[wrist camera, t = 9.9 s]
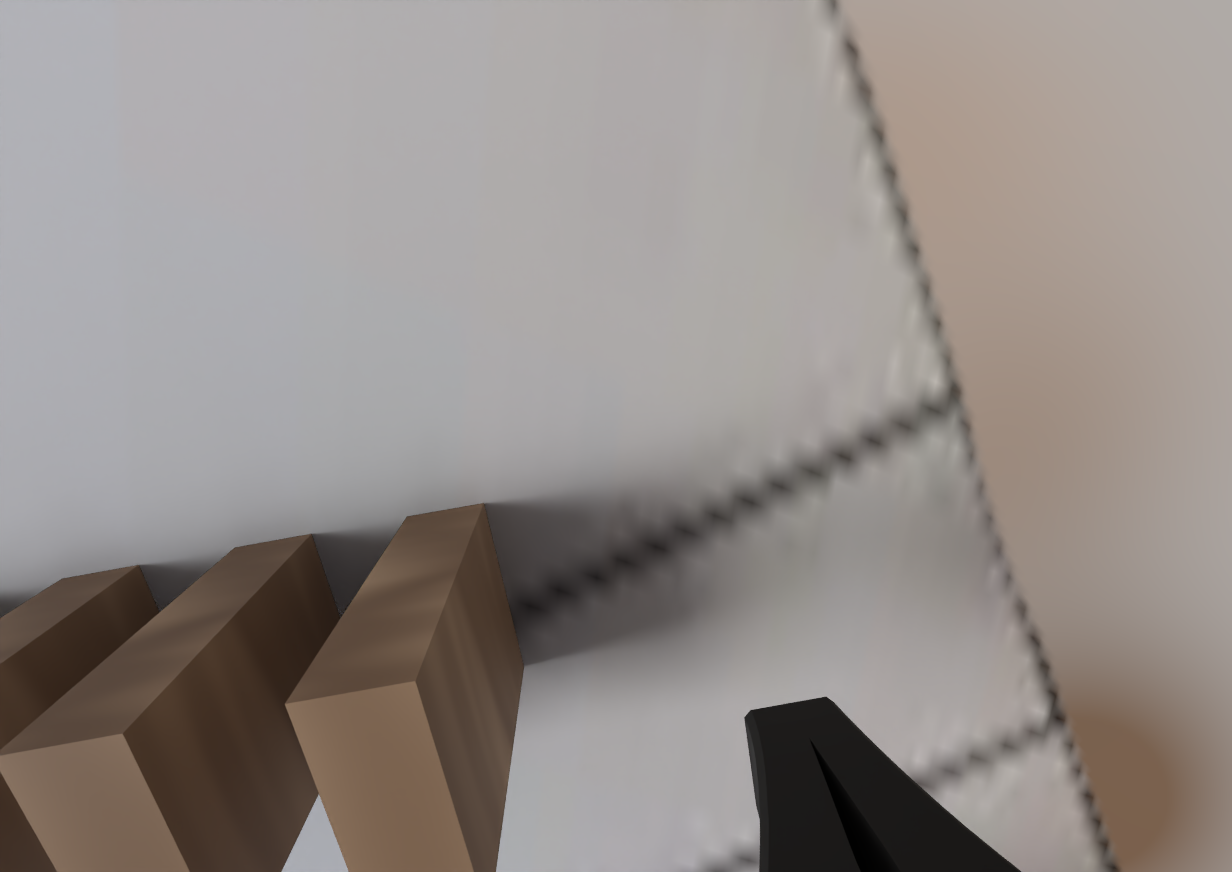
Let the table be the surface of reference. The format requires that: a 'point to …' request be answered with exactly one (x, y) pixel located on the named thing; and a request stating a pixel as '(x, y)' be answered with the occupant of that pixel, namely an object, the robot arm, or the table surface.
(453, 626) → the end domino
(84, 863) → the domino
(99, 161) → the table surface
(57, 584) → the domino
